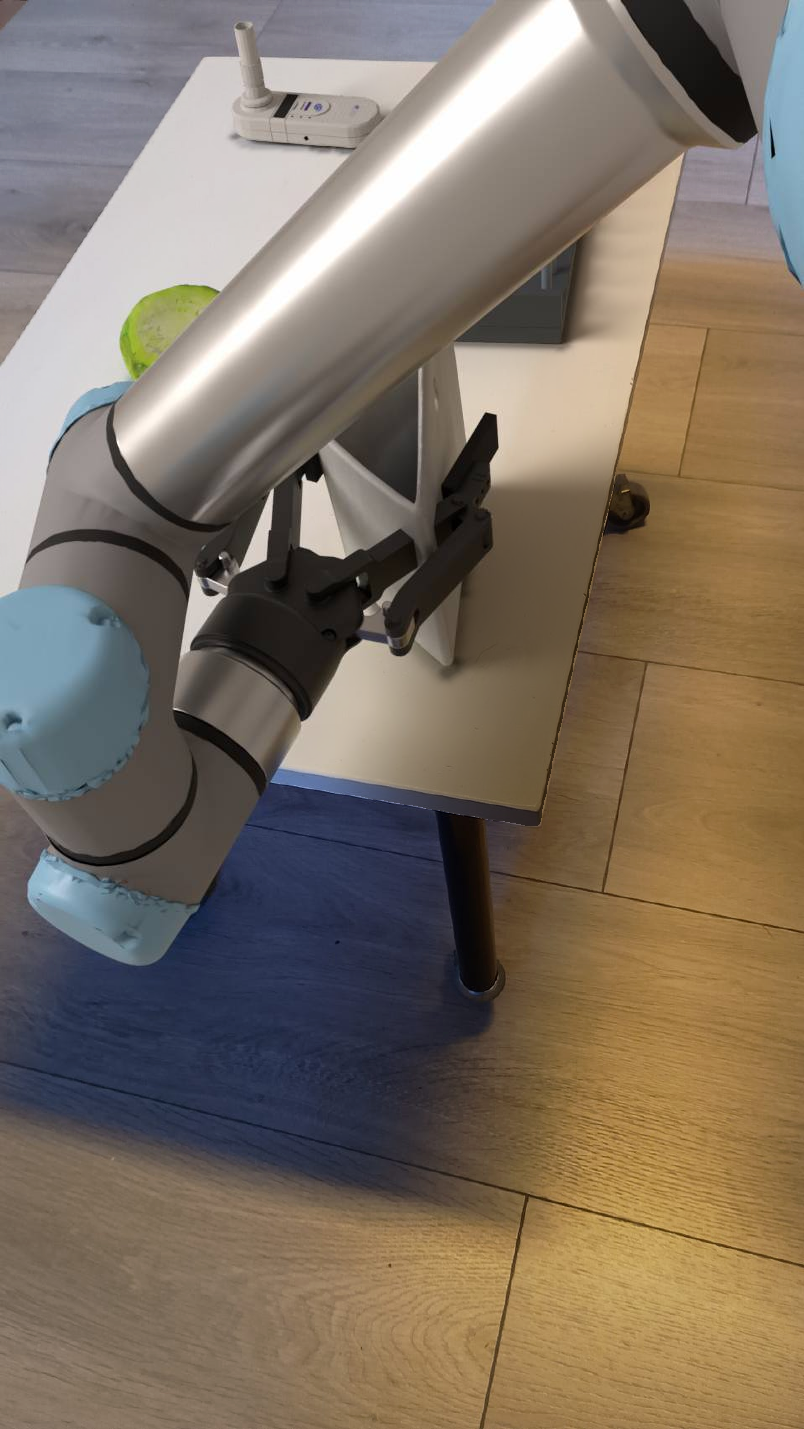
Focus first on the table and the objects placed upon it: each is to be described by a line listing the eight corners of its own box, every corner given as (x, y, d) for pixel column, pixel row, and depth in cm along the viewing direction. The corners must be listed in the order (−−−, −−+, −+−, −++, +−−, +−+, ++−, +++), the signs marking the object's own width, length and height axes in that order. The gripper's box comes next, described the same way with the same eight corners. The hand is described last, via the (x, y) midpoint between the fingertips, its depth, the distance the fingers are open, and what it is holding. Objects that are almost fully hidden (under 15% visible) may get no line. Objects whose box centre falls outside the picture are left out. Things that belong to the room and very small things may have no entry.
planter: (366, 490, 82) (310, 253, 66) (473, 488, 81) (442, 244, 65) (333, 666, 73) (260, 439, 57) (453, 667, 71) (411, 434, 56)
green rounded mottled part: (147, 318, 96) (129, 268, 92) (269, 316, 94) (256, 264, 90) (113, 411, 90) (92, 361, 86) (242, 410, 88) (227, 360, 84)
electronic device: (361, 48, 99) (206, 38, 102) (372, 155, 107) (228, 143, 110) (378, 18, 101) (226, 9, 104) (388, 124, 109) (247, 113, 113)
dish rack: (585, 189, 99) (587, 128, 95) (560, 344, 88) (561, 283, 84) (368, 189, 103) (359, 131, 98) (318, 337, 92) (306, 280, 87)
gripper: (106, 670, 66) (286, 421, 77) (433, 787, 59) (583, 496, 70) (59, 590, 60) (262, 331, 71) (418, 710, 53) (585, 403, 63)
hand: (421, 413), depth 70 cm, fingers closed on planter, 9 cm apart
